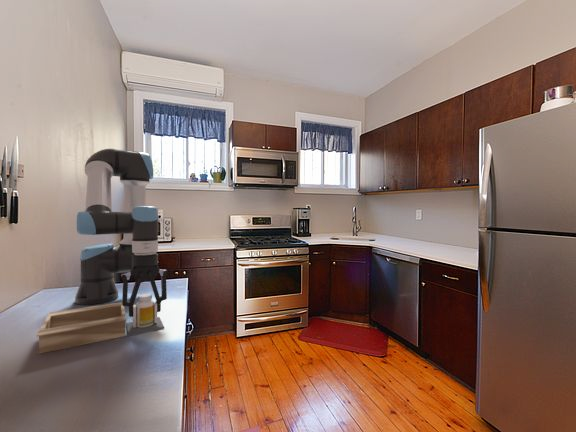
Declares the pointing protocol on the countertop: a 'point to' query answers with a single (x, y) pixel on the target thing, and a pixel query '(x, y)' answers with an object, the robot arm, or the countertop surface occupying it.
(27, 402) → the countertop surface
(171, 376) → the countertop surface
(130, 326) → the mat
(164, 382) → the countertop surface
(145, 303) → the supplement bottle
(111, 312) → the wooden frame
